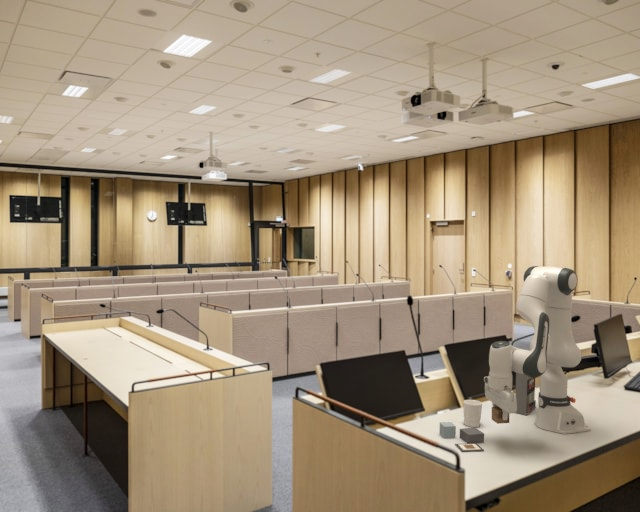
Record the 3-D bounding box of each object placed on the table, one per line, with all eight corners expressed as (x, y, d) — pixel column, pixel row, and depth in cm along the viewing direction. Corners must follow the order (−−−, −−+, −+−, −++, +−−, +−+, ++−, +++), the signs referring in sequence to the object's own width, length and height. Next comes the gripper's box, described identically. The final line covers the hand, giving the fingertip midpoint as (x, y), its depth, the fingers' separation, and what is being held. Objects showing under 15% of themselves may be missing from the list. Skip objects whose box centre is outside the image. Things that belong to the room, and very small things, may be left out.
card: (476, 444, 210) (476, 442, 210) (484, 451, 203) (484, 449, 203) (454, 444, 209) (454, 443, 209) (461, 452, 202) (461, 450, 202)
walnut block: (503, 418, 213) (503, 406, 212) (509, 422, 208) (509, 410, 207) (491, 419, 212) (491, 406, 212) (497, 423, 207) (497, 411, 207)
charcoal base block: (474, 437, 219) (475, 427, 218) (483, 443, 212) (484, 433, 212) (459, 438, 217) (459, 428, 217) (468, 444, 210) (468, 434, 210)
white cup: (468, 428, 228) (469, 405, 227) (459, 422, 235) (460, 400, 235) (484, 427, 230) (485, 404, 229) (474, 420, 237) (475, 399, 237)
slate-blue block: (450, 433, 221) (451, 422, 221) (455, 438, 216) (455, 426, 216) (439, 434, 221) (439, 422, 220) (443, 438, 216) (444, 426, 216)
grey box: (527, 416, 245) (529, 363, 245) (514, 413, 249) (516, 360, 248) (536, 408, 256) (537, 357, 256) (523, 406, 260) (524, 356, 259)
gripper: (521, 390, 199) (521, 425, 200) (496, 375, 219) (496, 408, 220) (505, 390, 198) (505, 426, 199) (482, 376, 219) (481, 408, 219)
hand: (500, 416), depth 210 cm, fingers closed on walnut block, 5 cm apart
